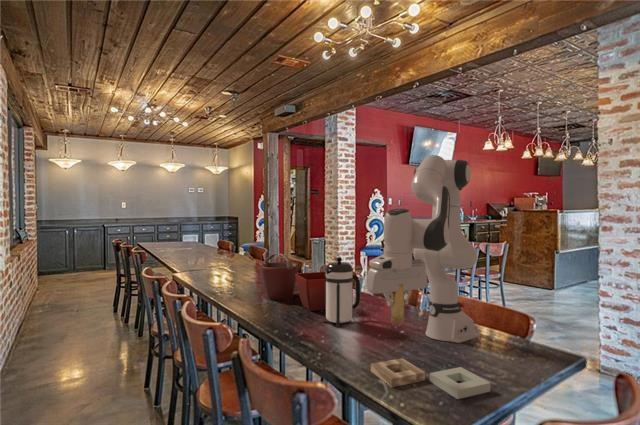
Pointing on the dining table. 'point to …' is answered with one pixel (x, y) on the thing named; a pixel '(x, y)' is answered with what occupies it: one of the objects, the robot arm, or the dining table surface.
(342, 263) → the coffee press
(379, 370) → the birch mount
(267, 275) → the bucket
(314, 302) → the plant pot
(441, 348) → the dining table surface
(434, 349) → the dining table surface
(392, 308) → the pin
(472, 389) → the socket block
